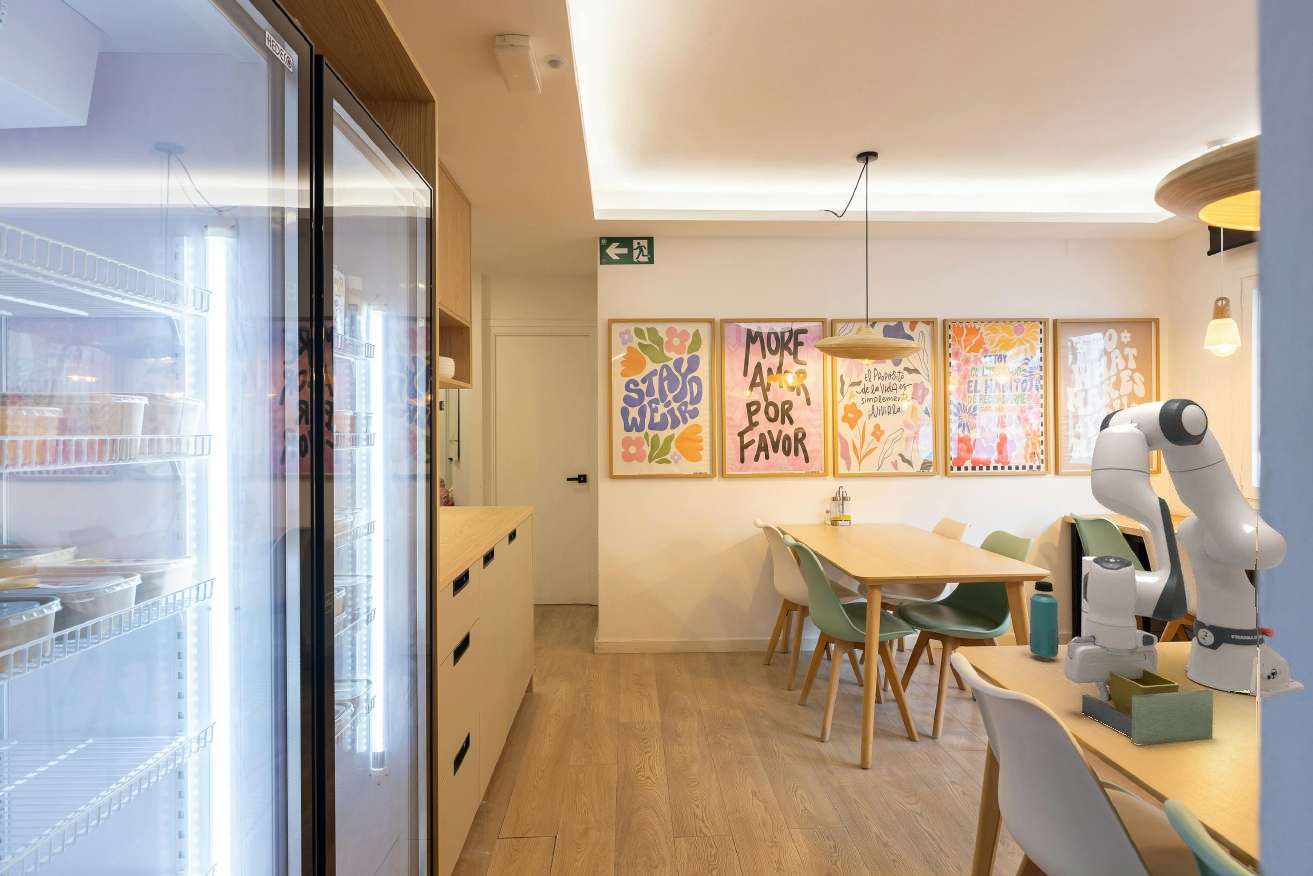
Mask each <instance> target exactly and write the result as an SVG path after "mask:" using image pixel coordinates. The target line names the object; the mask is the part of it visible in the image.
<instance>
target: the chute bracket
mask: <svg viewBox="0 0 1313 876" xmlns="http://www.w3.org/2000/svg"><path fill="white" fill-rule="evenodd" d="M1081 698H1082V701H1081V703H1082V704H1081V705H1082V706H1081V707H1082V708H1081V709H1082V710H1081V711H1082V712H1081V713H1084V714H1086V715H1088V716H1090V717H1092V718H1093V719H1096V720H1098V721H1100V722H1102V723H1104V724H1106V725H1108V726H1110V727H1112V728H1114V729H1116V730H1118V731H1120V732H1122V733H1124V734H1126V735H1127V736H1129V737H1130V738H1132V739H1131V743H1132V742H1133V743H1136V744H1151V745H1158V744H1159V745H1160V744H1169V743H1181V742H1190V741H1200V740H1211V739H1213V733H1214V732H1213V729H1214V728H1213V724H1214V722H1213V720H1214V717H1213V715H1214V691H1211V690H1209V689H1199V690H1197V689H1196V690H1188V691H1187V690H1185V691H1178V692H1172V693H1159V694H1147V695H1134V696H1132V715H1130V714H1128V713H1125V712H1123V711H1121V710H1119V709H1117V708H1116V707H1115V706H1113V705H1110V704H1109V703H1107V702H1105V701H1103V700H1101V699H1098V698H1096V697H1095V696H1094V697H1093V696H1092V695H1090V694H1087V693H1086V694H1082V697H1081ZM1084 714H1083V715H1084ZM1086 715H1085V716H1086ZM1088 716H1087V717H1088ZM1090 717H1089V718H1090ZM1092 718H1091V719H1092ZM1093 719H1092V720H1093ZM1130 738H1129V739H1130ZM1133 743H1132V744H1133Z"/></svg>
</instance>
